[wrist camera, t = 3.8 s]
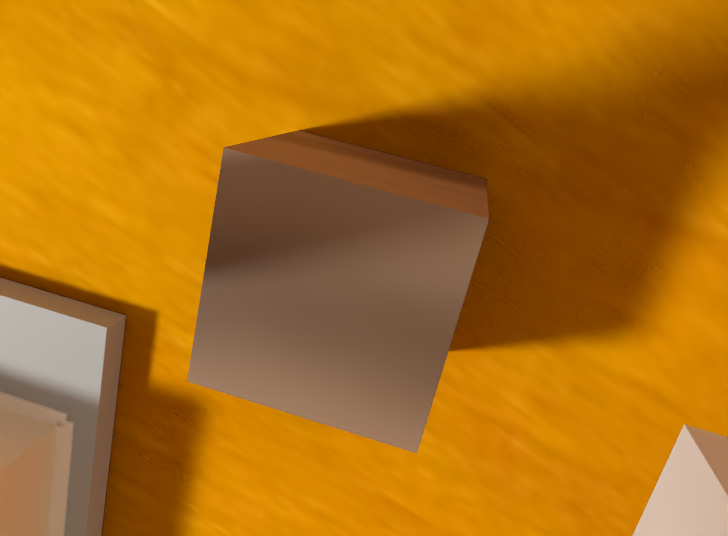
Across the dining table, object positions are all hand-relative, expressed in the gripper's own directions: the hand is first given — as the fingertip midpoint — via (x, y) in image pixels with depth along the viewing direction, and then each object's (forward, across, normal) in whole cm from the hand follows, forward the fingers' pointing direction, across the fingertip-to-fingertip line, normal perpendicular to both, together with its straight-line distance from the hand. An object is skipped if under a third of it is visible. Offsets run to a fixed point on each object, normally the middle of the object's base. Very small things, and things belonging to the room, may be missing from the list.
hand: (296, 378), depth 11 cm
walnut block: (+9, 0, 0) cm, 9 cm away
